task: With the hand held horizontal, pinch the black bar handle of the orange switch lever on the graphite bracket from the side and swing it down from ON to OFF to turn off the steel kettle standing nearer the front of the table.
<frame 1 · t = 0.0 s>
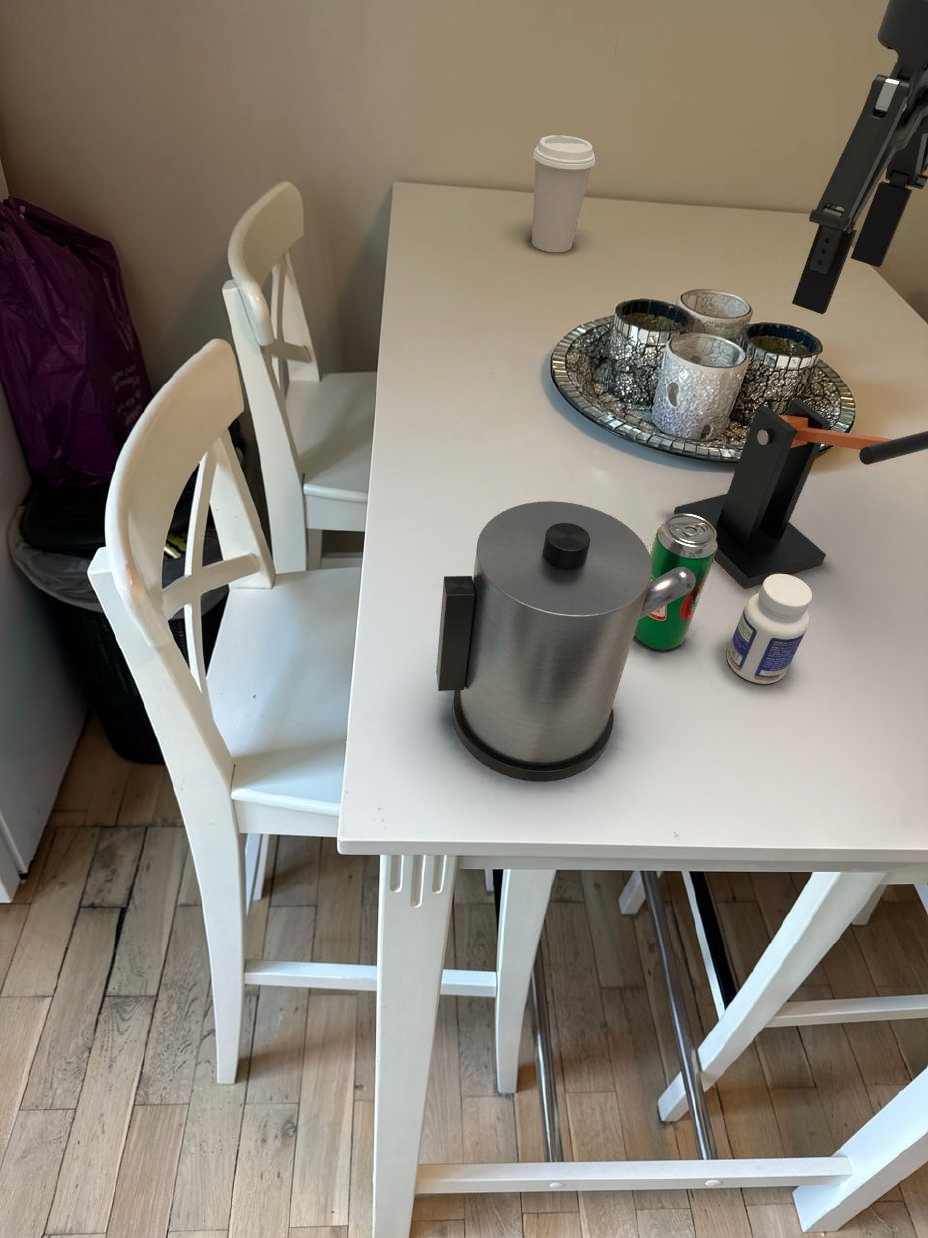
hand: (838, 283, 76), 25 cm above the table, tool pointing down, fingers open, 13 cm apart
switch bracket: (745, 540, 91), on the table
pill bottle: (754, 664, 78), on the table
orange switch lever: (835, 438, 77), point 15 cm above the table, hinge at 25.0°
soda can: (656, 634, 80), on the table
coffee cup: (551, 245, 143), on the table
kettle: (531, 715, 72), on the table
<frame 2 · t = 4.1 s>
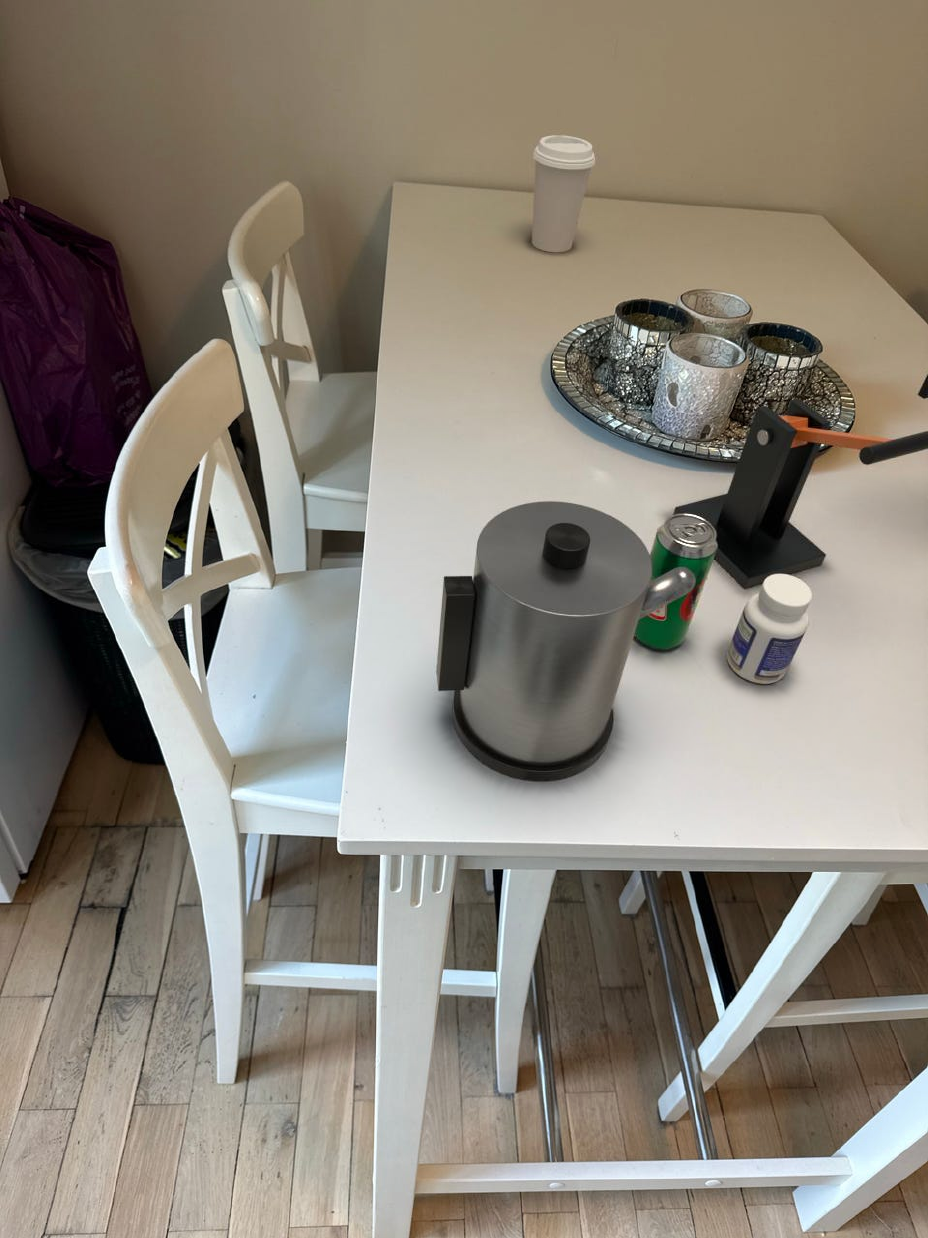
nothing on the table moved.
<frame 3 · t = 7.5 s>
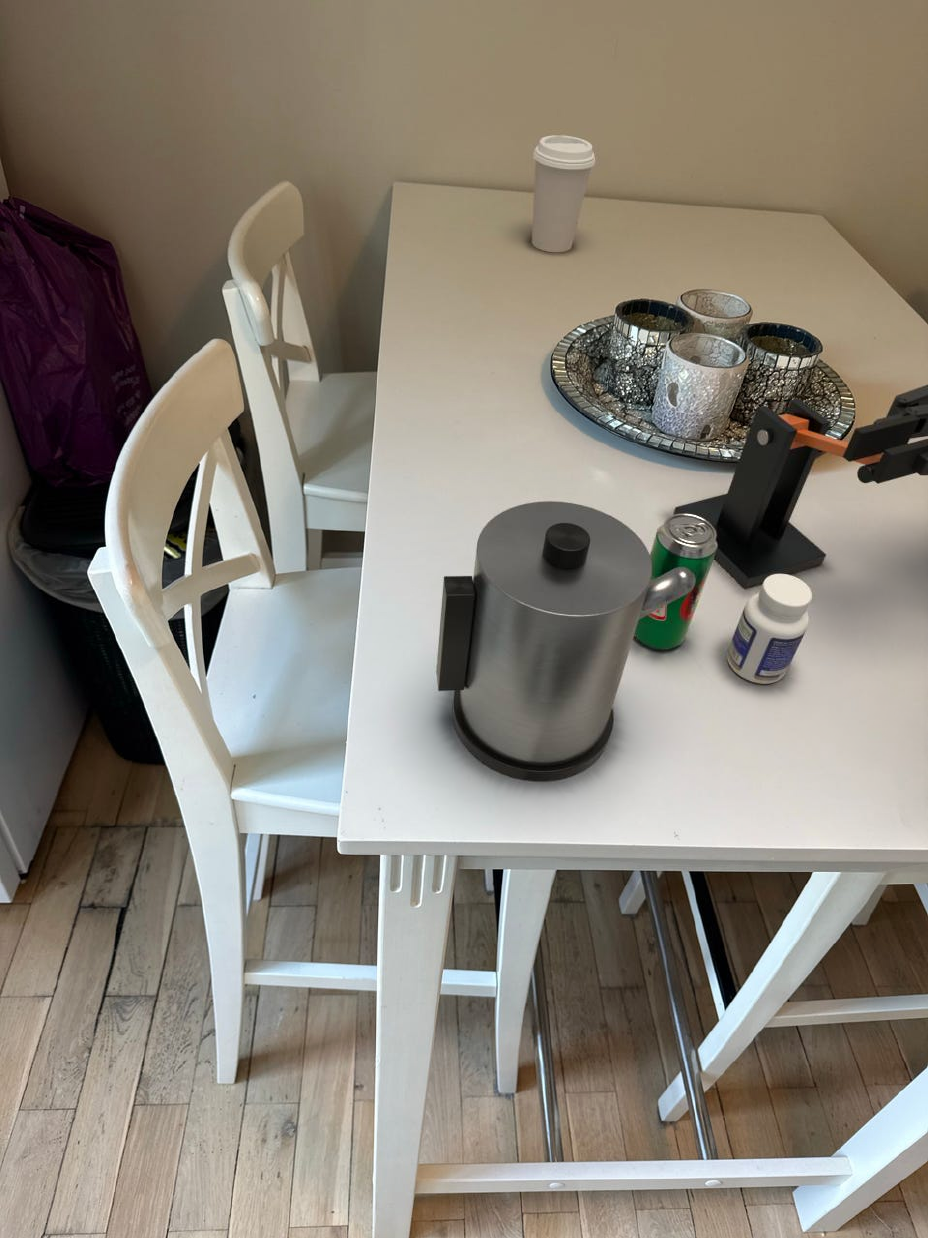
hand: (866, 455, 70), 18 cm above the table, tool horizontal, fingers closed on orange switch lever, 2 cm apart
orange switch lever: (835, 446, 77), point 15 cm above the table, hinge at 17.7°, touching gripper
everything else where it was.
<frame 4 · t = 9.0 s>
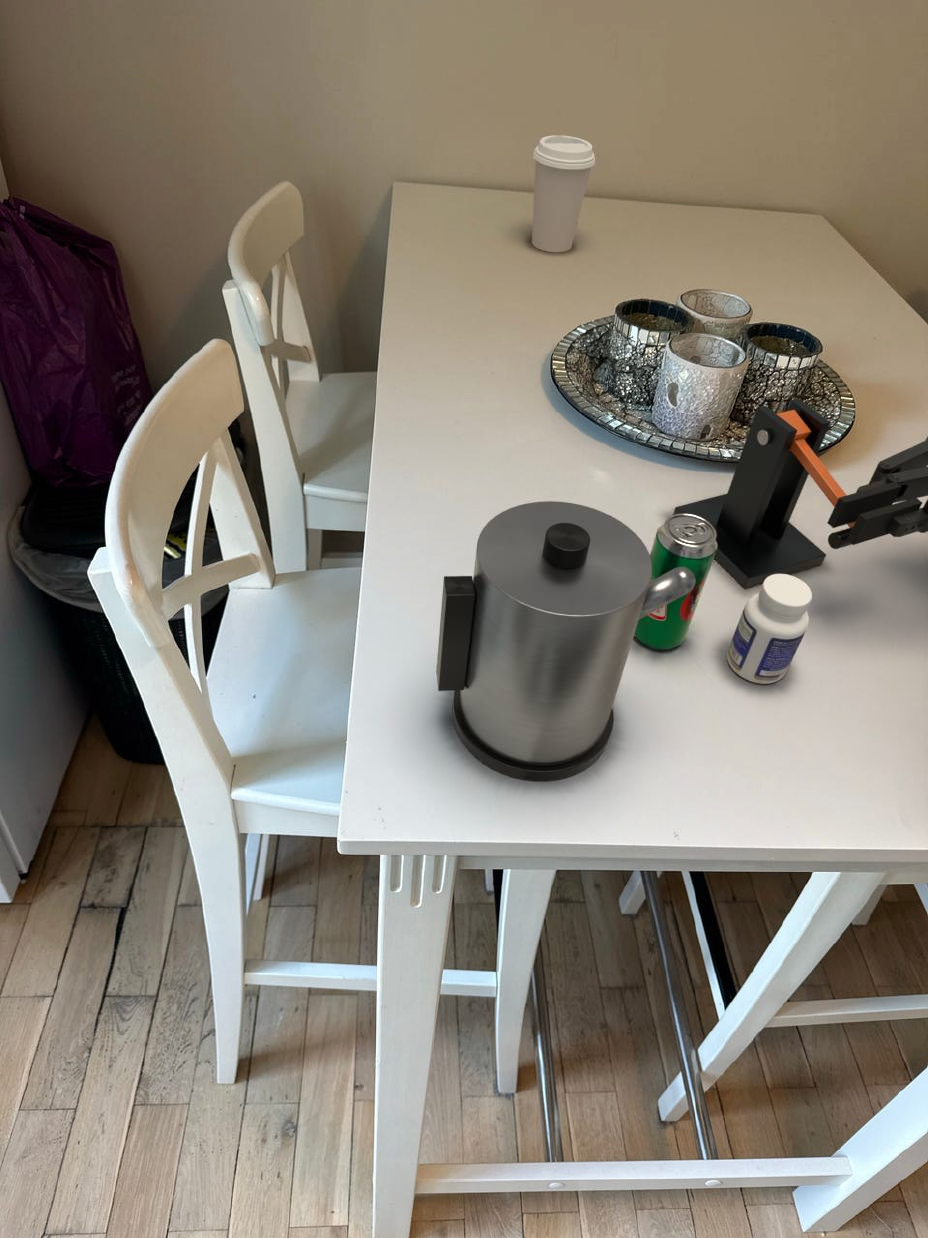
hand: (846, 521, 74), 12 cm above the table, tool horizontal, fingers closed
orange switch lever: (822, 477, 79), point 12 cm above the table, hinge at -15.3°, touching gripper
everything else where it was.
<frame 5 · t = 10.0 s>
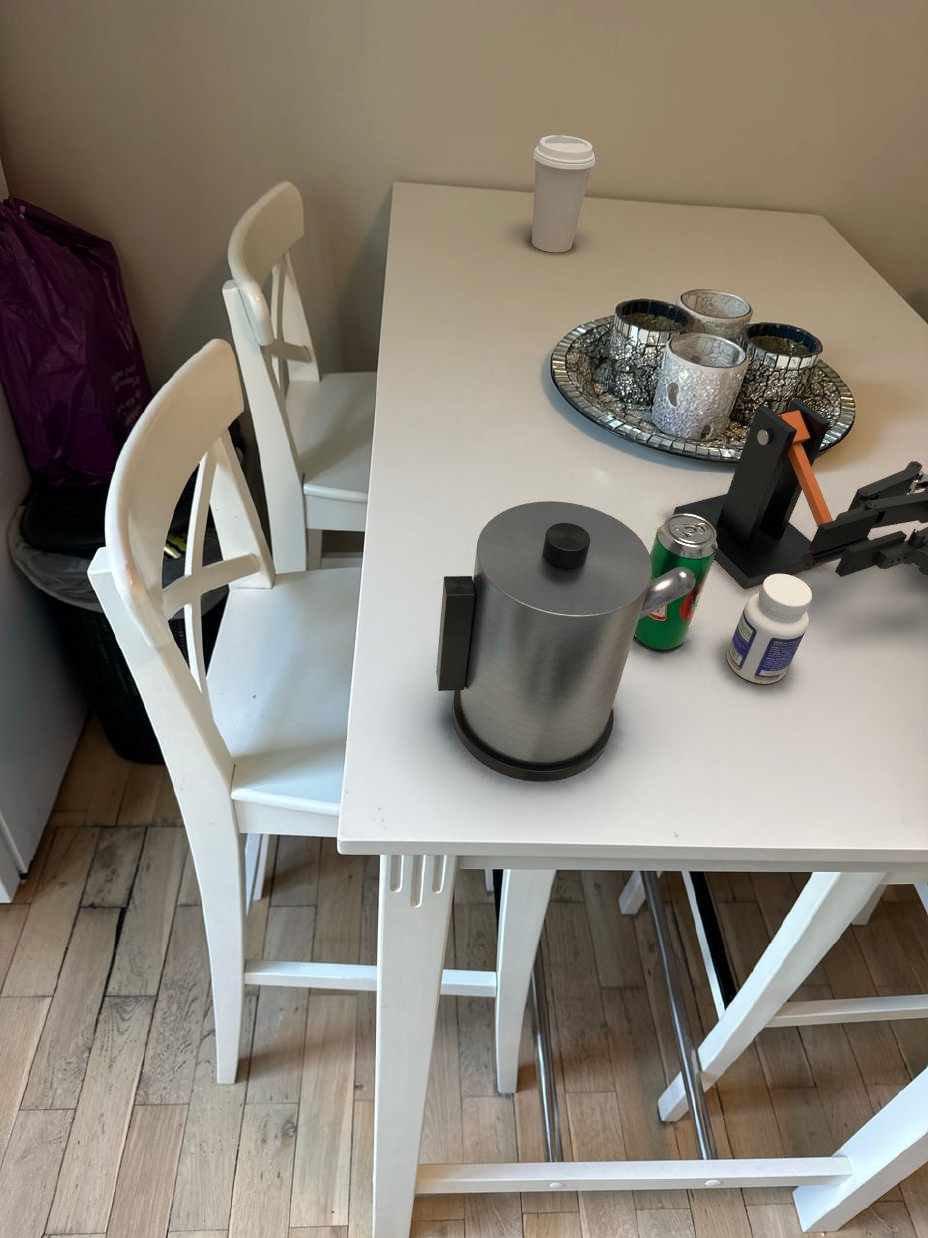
hand: (830, 550, 76), 9 cm above the table, tool horizontal, fingers open, 3 cm apart
orange switch lever: (810, 487, 81), point 10 cm above the table, hinge at -33.4°, touching gripper
everything else where it was.
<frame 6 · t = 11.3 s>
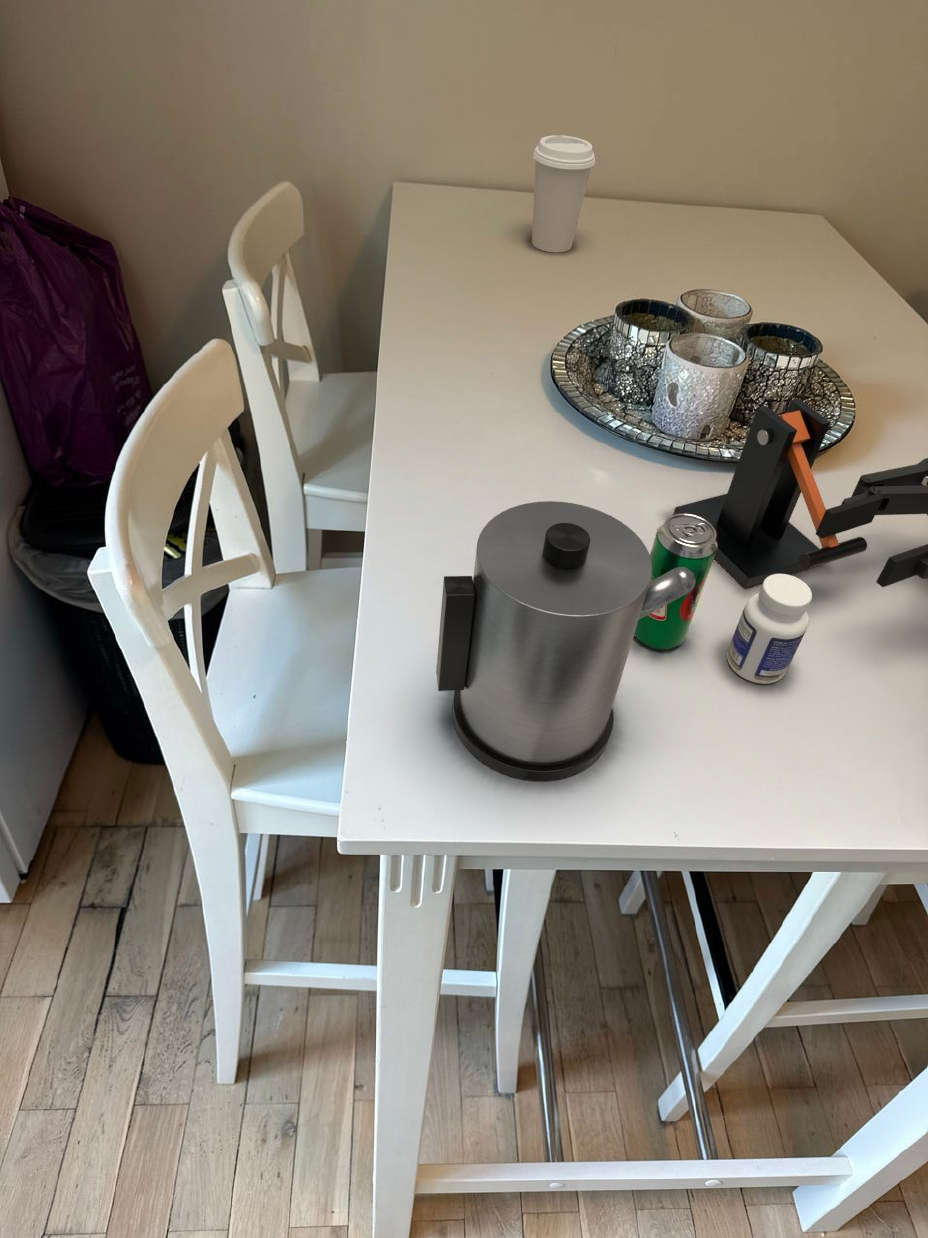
hand: (854, 547, 76), 9 cm above the table, tool horizontal, fingers open, 6 cm apart
orange switch lever: (808, 488, 81), point 10 cm above the table, hinge at -35.4°, touching gripper
everything else where it was.
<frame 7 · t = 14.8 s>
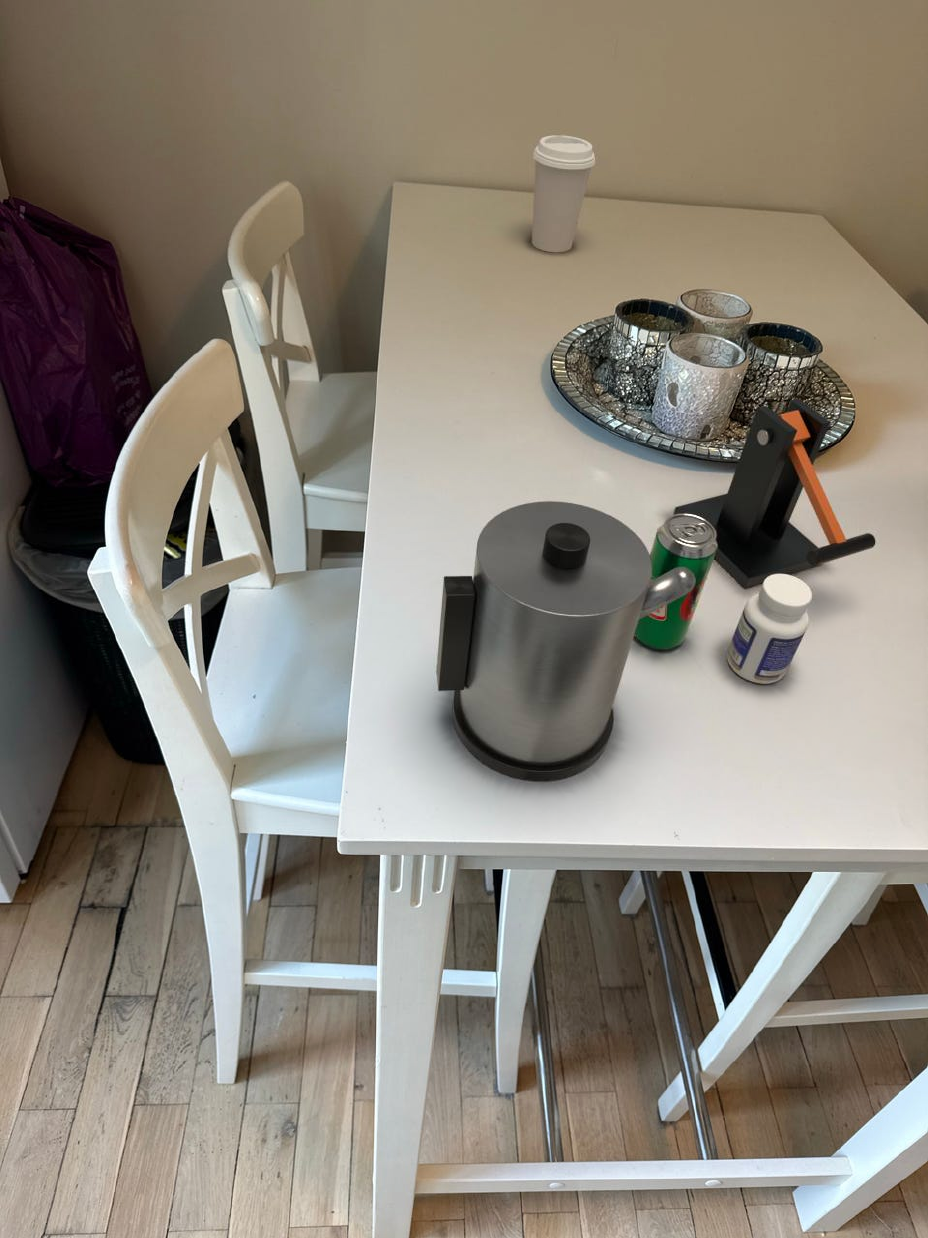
orange switch lever: (812, 486, 81), point 10 cm above the table, hinge at -30.5°
everything else where it was.
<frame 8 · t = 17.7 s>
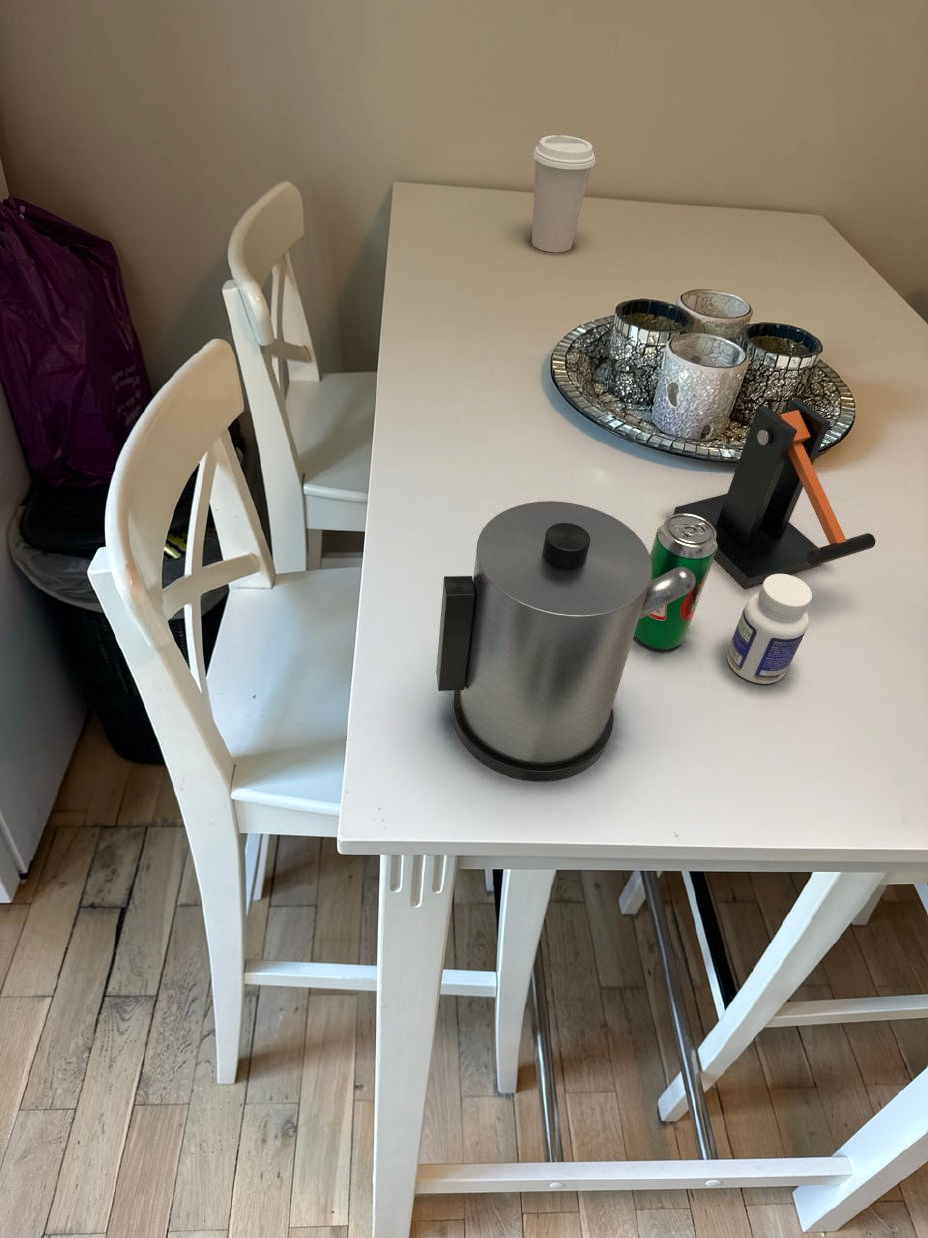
nothing on the table moved.
at the end: orange switch lever at -30° (first picture: +25°); kettle moved 0.0 cm from its start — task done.
